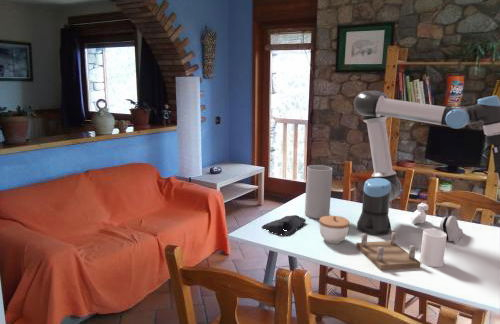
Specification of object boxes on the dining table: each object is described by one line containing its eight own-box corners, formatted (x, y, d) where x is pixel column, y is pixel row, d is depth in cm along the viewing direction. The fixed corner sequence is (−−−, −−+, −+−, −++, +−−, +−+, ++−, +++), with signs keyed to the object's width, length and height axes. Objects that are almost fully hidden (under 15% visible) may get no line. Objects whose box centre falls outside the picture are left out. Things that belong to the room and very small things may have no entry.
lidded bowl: (329, 248, 156) (331, 223, 154) (312, 237, 168) (314, 213, 165) (354, 243, 161) (356, 219, 159) (336, 233, 173) (337, 209, 170)
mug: (419, 252, 154) (422, 224, 152) (442, 256, 151) (446, 228, 149) (418, 264, 144) (422, 234, 141) (444, 269, 141) (448, 238, 138)
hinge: (455, 244, 163) (449, 221, 163) (443, 244, 166) (438, 222, 166) (463, 233, 176) (457, 212, 176) (452, 233, 179) (446, 213, 179)
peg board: (356, 247, 158) (357, 231, 157) (391, 245, 161) (393, 229, 159) (380, 270, 139) (381, 252, 137) (420, 267, 141) (422, 250, 140)
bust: (416, 230, 184) (434, 215, 179) (404, 219, 186) (421, 204, 181) (419, 222, 194) (436, 208, 189) (407, 212, 196) (424, 197, 191)
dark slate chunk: (311, 224, 184) (311, 215, 183) (286, 238, 167) (286, 228, 166) (284, 217, 193) (284, 208, 192) (258, 229, 176) (258, 220, 175)
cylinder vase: (314, 209, 205) (317, 164, 200) (334, 215, 196) (337, 168, 191) (299, 214, 196) (302, 167, 191) (319, 221, 187) (322, 171, 182)
